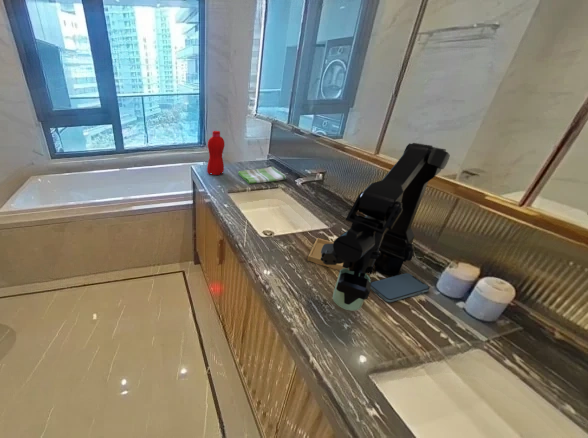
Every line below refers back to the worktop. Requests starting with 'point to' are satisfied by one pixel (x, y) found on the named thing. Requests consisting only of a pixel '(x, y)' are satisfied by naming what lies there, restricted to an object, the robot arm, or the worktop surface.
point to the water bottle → (215, 154)
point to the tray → (316, 254)
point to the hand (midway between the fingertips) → (348, 294)
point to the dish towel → (262, 175)
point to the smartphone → (398, 287)
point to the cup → (339, 296)
